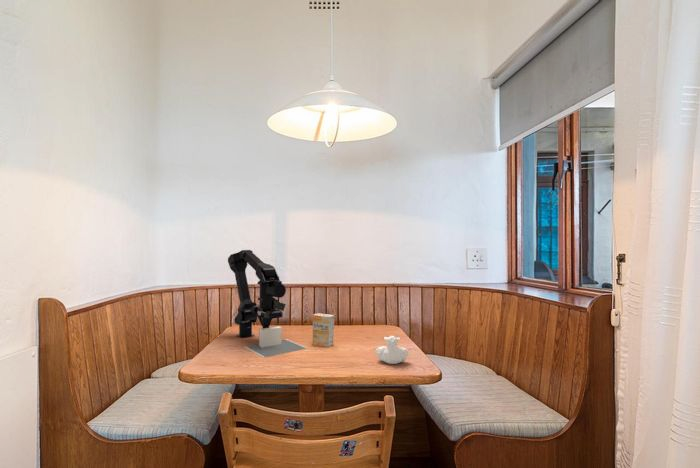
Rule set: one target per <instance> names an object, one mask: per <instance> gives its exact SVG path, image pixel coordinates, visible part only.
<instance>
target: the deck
mask: <svg viewBox="0 0 700 468" xmlns="http://www.w3.org/2000/svg"><path fill="white" fill-rule="evenodd" d="M282 336H283V328H282V326H279V325H277V326H271V327H270V326H269V328H263V327H262V328H259V329H258V344H259V346H260V347H262V348H263V347H268V346H273V345H279V344H282V340H283V337H282Z"/></svg>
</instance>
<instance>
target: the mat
mask: <svg viewBox="0 0 700 468" xmlns="http://www.w3.org/2000/svg"><path fill="white" fill-rule="evenodd" d="M244 348H245V349H246V350H249V351H250V352H252V353H254V354H255V355H257V356H259V357H261V358H263V359H264V358H269V357H273V356H279V355H283V354H287V353H292V352H293V353H294V352H297V351H302V350H303V351H304V350H308V349H309V347H306V346H304V345H303V344H299V343H296V342H294V341H292V340H291V339H287V338H286V339H285V338H284V339H282V344H279V345H273V346H268V347H263V348H262V347H260V346H259V343H257V344H253V345H246V346H244Z"/></svg>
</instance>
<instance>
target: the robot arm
mask: <svg viewBox="0 0 700 468" xmlns="http://www.w3.org/2000/svg"><path fill="white" fill-rule="evenodd" d="M227 263H228V267H229V269H230V270H231V271H232V273H234V276H235V282H236V283H235V284H236V287H237V293H238V298H239V304H238V308H237V314H236V316H235V317H234V324H236V325H238V326H239V327H238V330H239V331H238V334H236V337H238V338H240V339H246V338H252V337H256V335H255V334H253V323H257V321H258V322H259V323H260V324H261V327H262V329H263V328H270V325H271V323H272V320H273V319H279V318H280V319H281V318H283V312H284V311H285V308H286V303H284V302H280V301H279V299H278V298H280V299H281V298H283V297H284V296H285V295H286V291H287V289H286V287H285V285H284V284H282V283H283V281H282V280H280V276H279V275H278V272H277V270H276V268H275V266H273V265H271V264H269V263H265V262H263V260H261V259H260V258H259V257H258V256H257V254H255V253H253V250H251V249H241V250H240V251H238V252H235V253H232V254H230V255H229V256H228V257H227ZM248 265H249V266H250V267H251V268H252V269H253V270H254V271H255V275H256V277H257V278H258V281H257V283H256V284H257V285H259V297H257V301H258V302H259V304H257V303H256V302H255V301H254V302H253V300H252V299H251V295H250V288H249V284H248V278H247V274H246V270H247V267H248Z"/></svg>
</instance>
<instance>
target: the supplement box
mask: <svg viewBox="0 0 700 468" xmlns="http://www.w3.org/2000/svg"><path fill="white" fill-rule="evenodd" d="M311 340H312V342H311V343H312V344H311V345H313V346H318V347H319V346H320V347H326V348H330V347H333V346H334V345H335V341H334V340H335V314H327V313H320V312H318V313H314V314H313V315H312V339H311Z"/></svg>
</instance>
